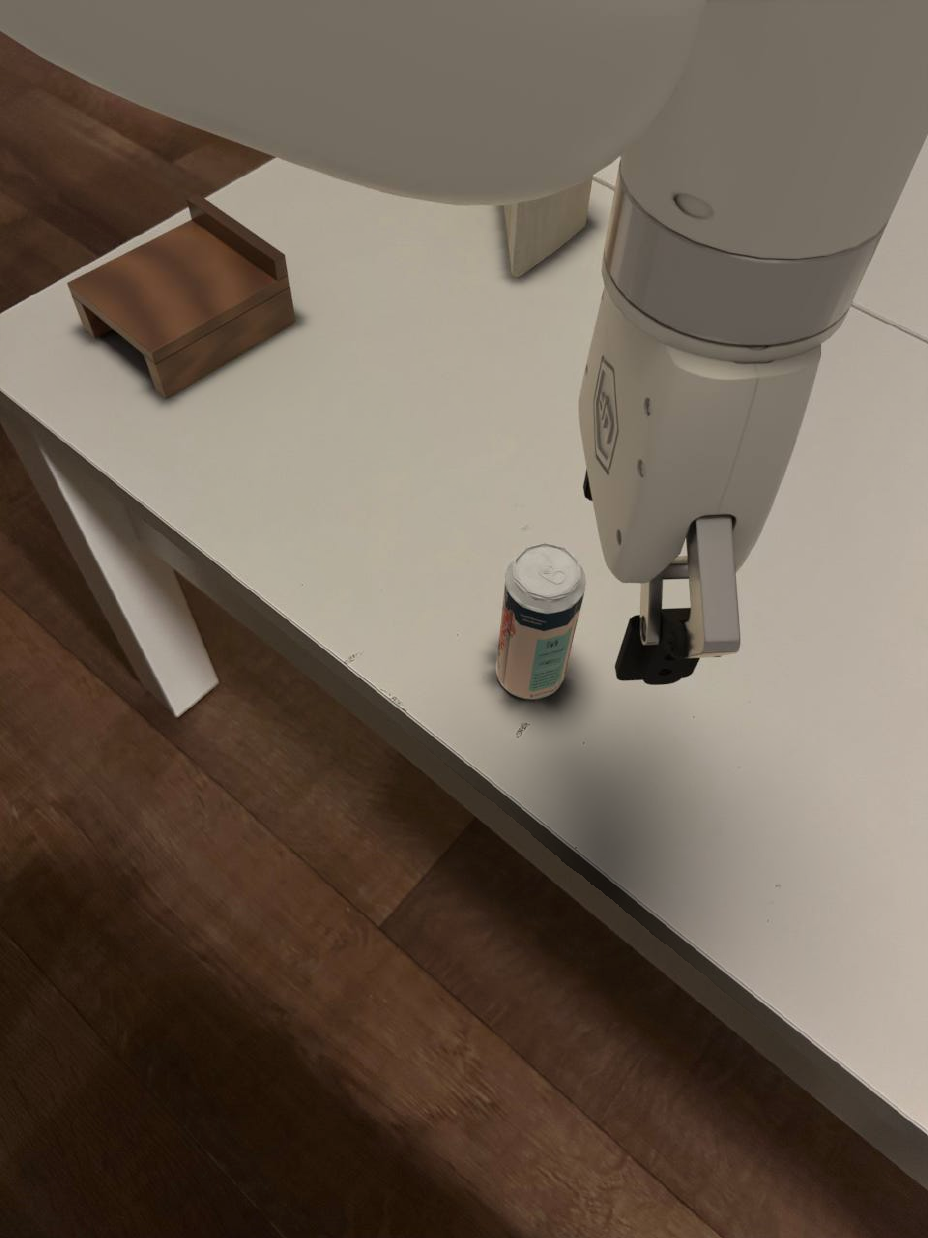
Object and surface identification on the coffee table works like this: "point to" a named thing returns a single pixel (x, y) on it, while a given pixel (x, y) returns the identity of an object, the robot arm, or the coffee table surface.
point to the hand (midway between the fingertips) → (632, 578)
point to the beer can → (538, 620)
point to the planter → (544, 225)
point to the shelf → (190, 296)
